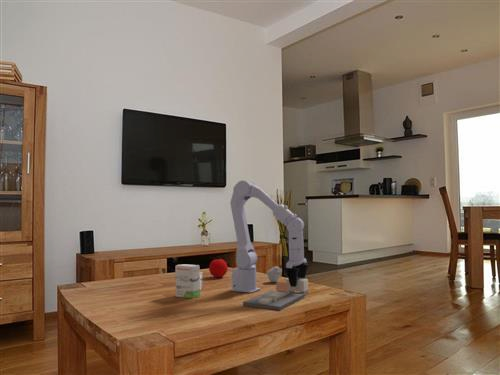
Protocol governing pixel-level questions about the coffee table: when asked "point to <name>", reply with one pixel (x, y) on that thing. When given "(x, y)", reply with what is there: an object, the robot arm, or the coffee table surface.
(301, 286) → the block
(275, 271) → the grey sculpted head
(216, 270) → the ornament
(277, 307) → the rail board
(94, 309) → the coffee table surface
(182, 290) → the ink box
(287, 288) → the rail clip
